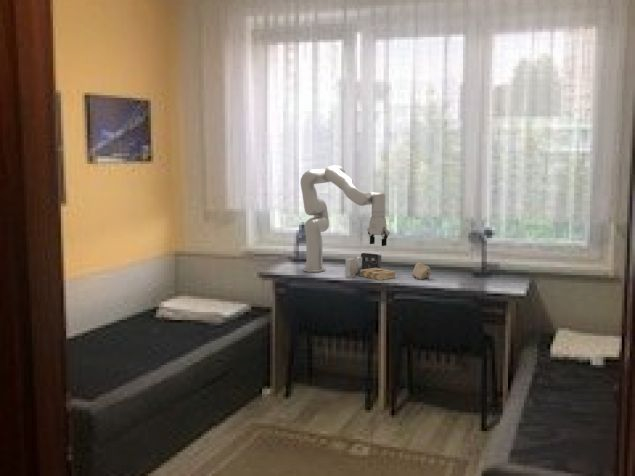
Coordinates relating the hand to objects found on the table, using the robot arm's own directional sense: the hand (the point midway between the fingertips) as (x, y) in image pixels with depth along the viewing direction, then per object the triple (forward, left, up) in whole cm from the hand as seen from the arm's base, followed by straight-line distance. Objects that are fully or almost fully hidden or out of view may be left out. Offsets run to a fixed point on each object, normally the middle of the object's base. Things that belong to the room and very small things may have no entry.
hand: (378, 244), depth 386 cm
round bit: (-13, -3, -18) cm, 23 cm away
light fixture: (-17, +12, -19) cm, 28 cm away
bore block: (0, 0, -18) cm, 18 cm away
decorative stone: (+17, +17, -19) cm, 30 cm away
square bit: (-11, -11, -18) cm, 24 cm away
